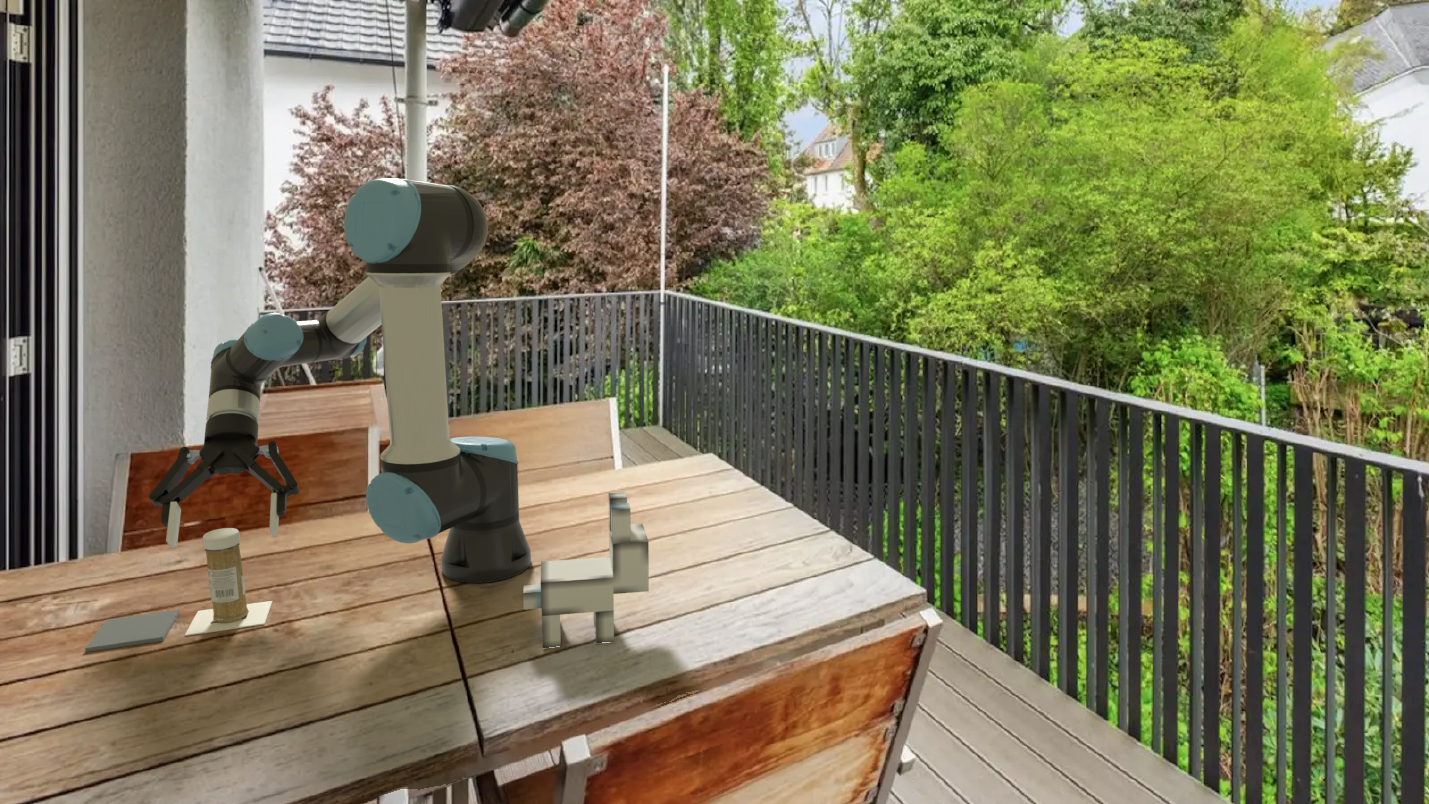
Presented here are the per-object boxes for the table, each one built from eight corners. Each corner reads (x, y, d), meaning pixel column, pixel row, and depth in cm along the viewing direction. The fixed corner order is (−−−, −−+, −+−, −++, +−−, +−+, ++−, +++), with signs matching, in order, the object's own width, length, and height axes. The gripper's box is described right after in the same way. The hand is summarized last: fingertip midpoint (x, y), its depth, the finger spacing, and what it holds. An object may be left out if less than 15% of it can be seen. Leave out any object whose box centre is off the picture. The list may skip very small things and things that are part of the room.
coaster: (179, 613, 118) (179, 609, 118) (163, 640, 110) (162, 636, 110) (107, 623, 115) (107, 619, 114) (85, 652, 106) (84, 648, 106)
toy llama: (526, 625, 116) (521, 497, 112) (642, 616, 119) (642, 491, 115) (524, 650, 108) (519, 514, 105) (648, 639, 112) (648, 507, 108)
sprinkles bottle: (254, 610, 119) (245, 526, 116) (237, 624, 114) (227, 537, 112) (224, 610, 119) (214, 526, 116) (205, 624, 114) (195, 537, 112)
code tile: (272, 601, 122) (272, 600, 122) (264, 624, 115) (264, 623, 115) (198, 612, 118) (197, 610, 118) (185, 636, 111) (184, 634, 111)
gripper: (318, 429, 138) (317, 539, 127) (150, 440, 129) (134, 559, 118) (312, 406, 132) (310, 519, 121) (136, 415, 123) (117, 538, 112)
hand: (223, 539), depth 119 cm, fingers open, 13 cm apart
